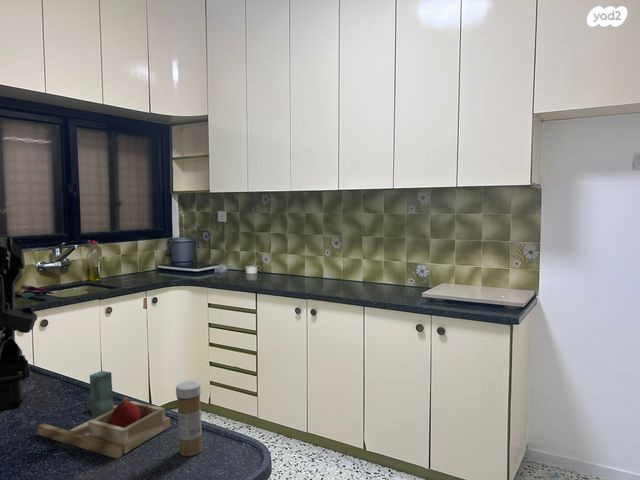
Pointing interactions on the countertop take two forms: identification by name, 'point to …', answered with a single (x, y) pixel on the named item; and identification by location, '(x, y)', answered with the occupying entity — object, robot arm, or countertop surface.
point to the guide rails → (84, 439)
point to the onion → (125, 414)
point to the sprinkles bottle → (189, 418)
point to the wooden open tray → (102, 411)
